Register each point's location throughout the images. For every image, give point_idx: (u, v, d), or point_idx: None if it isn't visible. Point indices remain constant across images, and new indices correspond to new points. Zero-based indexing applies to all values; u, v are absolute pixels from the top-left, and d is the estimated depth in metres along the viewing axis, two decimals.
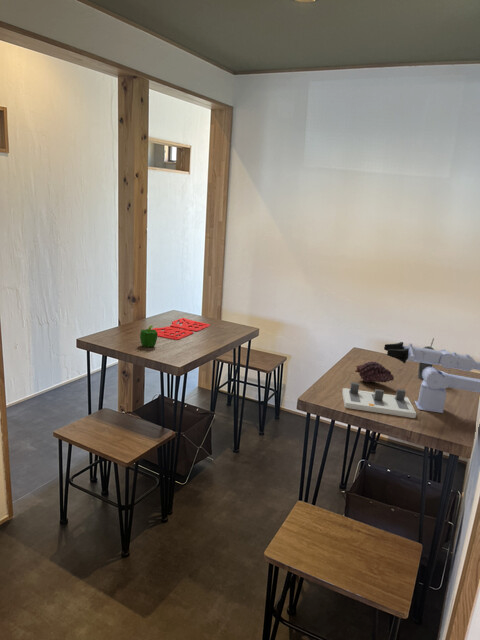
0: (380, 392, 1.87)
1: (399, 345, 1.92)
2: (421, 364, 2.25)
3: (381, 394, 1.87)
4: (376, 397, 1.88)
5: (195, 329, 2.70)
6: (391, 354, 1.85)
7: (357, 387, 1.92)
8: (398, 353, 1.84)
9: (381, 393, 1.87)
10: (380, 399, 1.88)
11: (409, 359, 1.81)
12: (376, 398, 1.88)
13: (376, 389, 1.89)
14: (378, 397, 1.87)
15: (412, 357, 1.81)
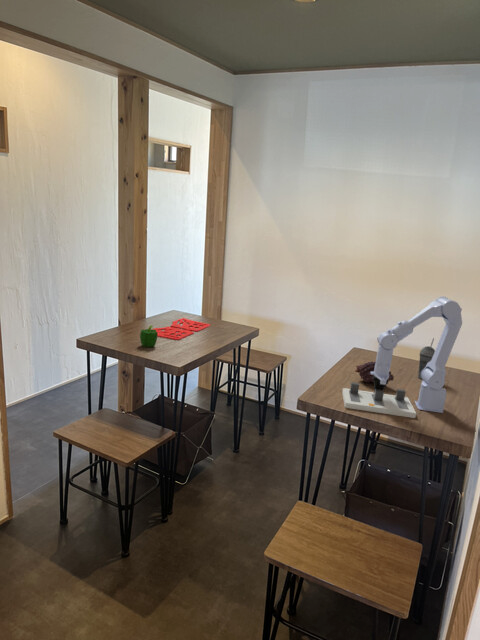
0: (380, 392, 1.87)
1: None
2: (421, 364, 2.25)
3: (381, 394, 1.87)
4: (376, 397, 1.87)
5: (195, 329, 2.70)
6: None
7: (357, 387, 1.92)
8: (378, 386, 1.89)
9: (381, 394, 1.87)
10: (380, 399, 1.87)
11: (384, 383, 1.82)
12: (376, 398, 1.88)
13: (376, 389, 1.88)
14: (378, 397, 1.87)
15: (382, 381, 1.82)
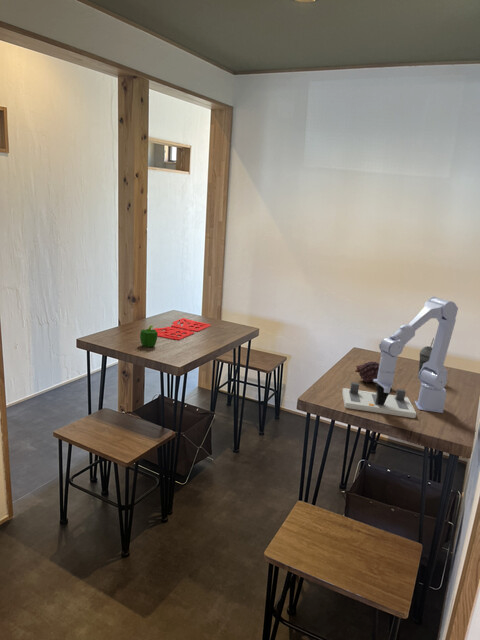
0: None
1: None
2: (421, 364, 2.25)
3: None
4: None
5: (196, 329, 2.69)
6: (382, 401, 1.81)
7: (357, 387, 1.92)
8: (381, 394, 1.81)
9: None
10: None
11: (388, 392, 1.74)
12: (377, 402, 1.84)
13: None
14: None
15: (386, 389, 1.74)
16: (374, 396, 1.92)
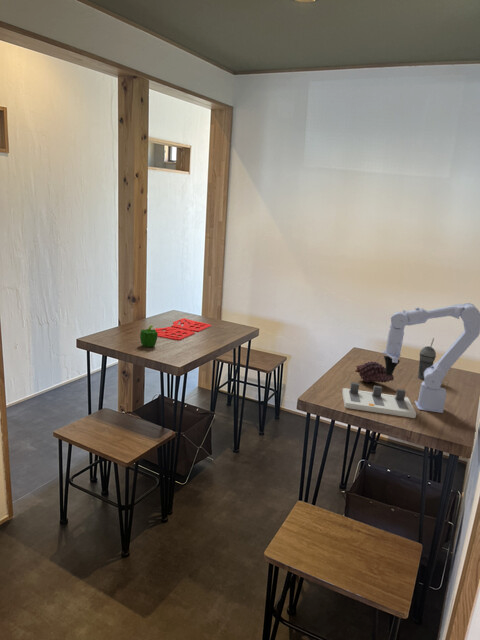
0: (379, 388, 1.91)
1: None
2: (421, 364, 2.25)
3: (380, 390, 1.91)
4: (375, 393, 1.91)
5: (196, 329, 2.69)
6: (390, 371, 1.93)
7: (357, 387, 1.92)
8: (389, 365, 1.92)
9: (379, 390, 1.91)
10: (379, 395, 1.91)
11: (396, 361, 1.85)
12: (375, 394, 1.92)
13: None
14: (376, 393, 1.91)
15: (394, 359, 1.85)
16: (374, 396, 1.92)
